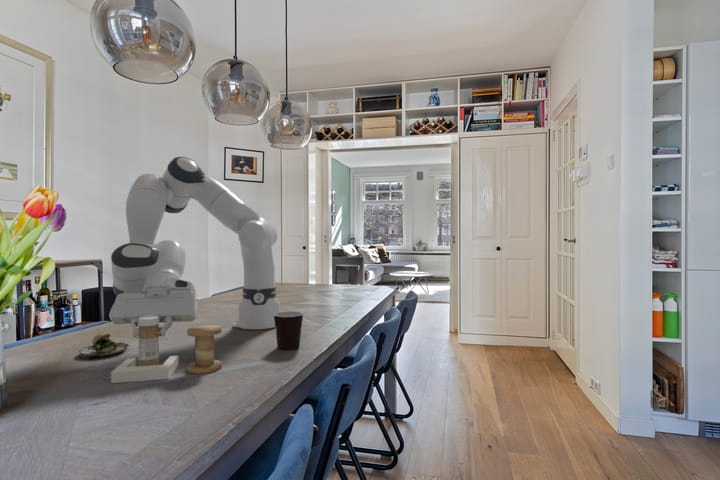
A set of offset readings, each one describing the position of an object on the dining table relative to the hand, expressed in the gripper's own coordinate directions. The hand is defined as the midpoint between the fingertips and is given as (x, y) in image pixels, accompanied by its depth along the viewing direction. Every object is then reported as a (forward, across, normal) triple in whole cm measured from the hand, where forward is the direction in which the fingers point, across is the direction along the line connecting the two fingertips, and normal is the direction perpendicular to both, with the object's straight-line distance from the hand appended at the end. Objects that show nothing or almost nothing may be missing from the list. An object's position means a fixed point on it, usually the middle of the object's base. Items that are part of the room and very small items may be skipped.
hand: (148, 335), depth 97 cm
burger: (-7, -18, +20) cm, 28 cm away
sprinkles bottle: (+6, 0, +7) cm, 9 cm away
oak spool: (+6, +13, +6) cm, 16 cm away
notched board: (+7, 0, +5) cm, 9 cm away
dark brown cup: (-5, +34, +18) cm, 39 cm away
